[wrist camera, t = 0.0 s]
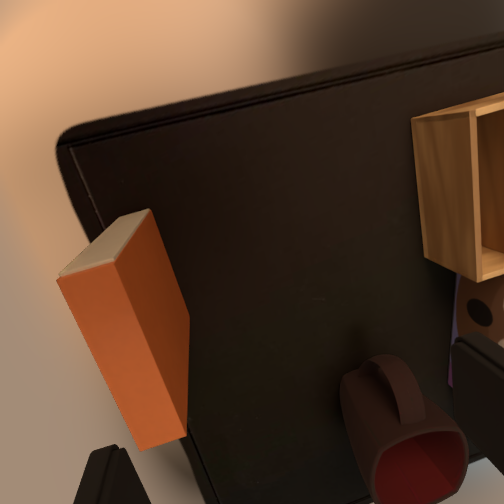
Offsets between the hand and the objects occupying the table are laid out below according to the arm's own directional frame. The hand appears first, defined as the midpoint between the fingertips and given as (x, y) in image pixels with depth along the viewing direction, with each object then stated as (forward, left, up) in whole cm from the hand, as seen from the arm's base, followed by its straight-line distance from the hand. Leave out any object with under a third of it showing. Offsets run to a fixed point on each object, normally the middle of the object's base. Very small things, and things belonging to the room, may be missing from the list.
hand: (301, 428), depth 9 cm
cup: (+10, +24, -26) cm, 37 cm away
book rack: (-15, +21, -26) cm, 37 cm away
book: (+7, -4, -26) cm, 28 cm away
